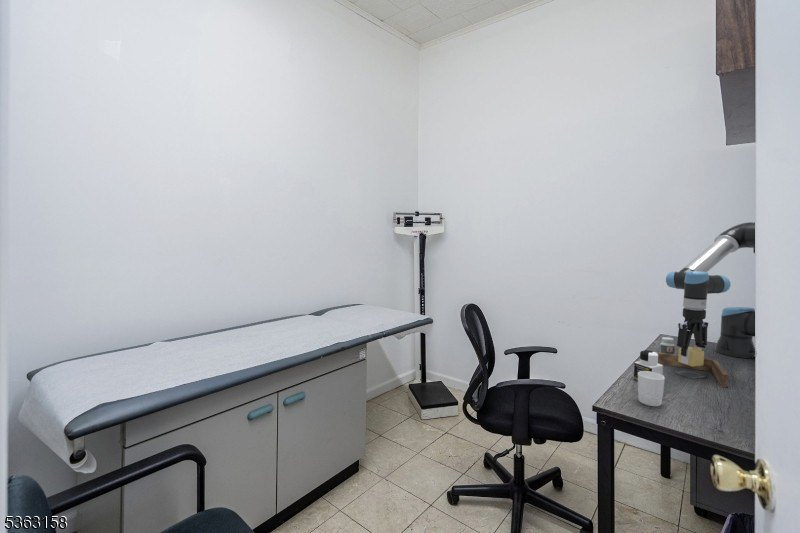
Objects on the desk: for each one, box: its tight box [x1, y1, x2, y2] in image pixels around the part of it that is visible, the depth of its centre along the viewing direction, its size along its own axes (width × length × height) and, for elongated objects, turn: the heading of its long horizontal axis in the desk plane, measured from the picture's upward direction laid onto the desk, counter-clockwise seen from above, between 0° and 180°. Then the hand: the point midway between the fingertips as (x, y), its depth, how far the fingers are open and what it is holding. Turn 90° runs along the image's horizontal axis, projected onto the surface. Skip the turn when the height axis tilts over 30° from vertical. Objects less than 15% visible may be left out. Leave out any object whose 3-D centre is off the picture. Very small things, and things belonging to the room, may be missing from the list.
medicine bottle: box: [633, 349, 664, 381], centre depth 148 cm, size 7×7×12 cm
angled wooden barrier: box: [655, 351, 729, 388], centre depth 155 cm, size 22×20×5 cm
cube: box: [677, 346, 705, 367], centre depth 153 cm, size 6×6×6 cm
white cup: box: [637, 371, 666, 407], centre depth 129 cm, size 8×8×10 cm
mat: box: [674, 370, 706, 380], centre depth 154 cm, size 10×10×1 cm
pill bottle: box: [659, 336, 676, 355], centre depth 174 cm, size 6×6×10 cm
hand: (690, 362), depth 153 cm, fingers closed on cube, 6 cm apart
